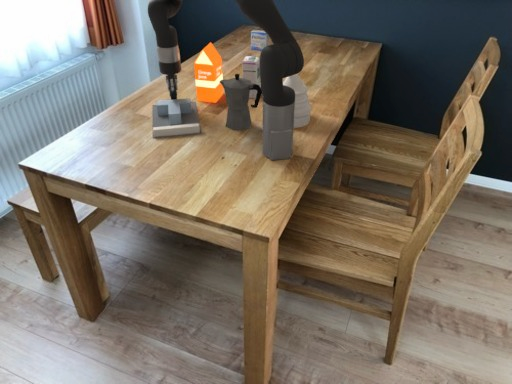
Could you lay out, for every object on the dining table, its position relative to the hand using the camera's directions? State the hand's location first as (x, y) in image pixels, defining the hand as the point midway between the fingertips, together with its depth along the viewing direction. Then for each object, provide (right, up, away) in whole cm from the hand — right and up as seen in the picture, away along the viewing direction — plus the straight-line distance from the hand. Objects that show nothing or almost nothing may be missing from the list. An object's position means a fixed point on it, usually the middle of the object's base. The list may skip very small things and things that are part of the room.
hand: (174, 104), depth 161 cm
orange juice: (+12, +4, +8) cm, 15 cm away
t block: (+1, -6, -6) cm, 8 cm away
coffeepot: (+25, -9, -11) cm, 29 cm away
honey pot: (+42, -7, -7) cm, 44 cm away
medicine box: (+32, +38, +55) cm, 74 cm away
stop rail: (+4, -13, -16) cm, 21 cm away
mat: (+2, -7, -7) cm, 10 cm away
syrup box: (+28, +5, +9) cm, 30 cm away
